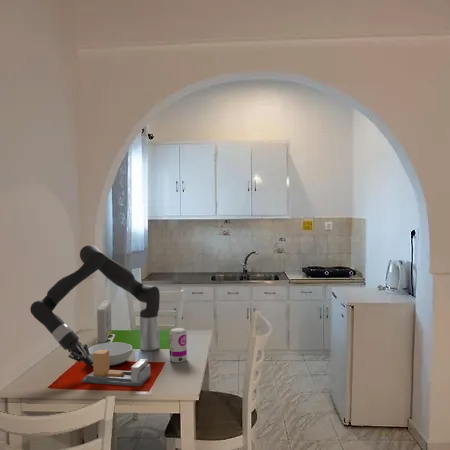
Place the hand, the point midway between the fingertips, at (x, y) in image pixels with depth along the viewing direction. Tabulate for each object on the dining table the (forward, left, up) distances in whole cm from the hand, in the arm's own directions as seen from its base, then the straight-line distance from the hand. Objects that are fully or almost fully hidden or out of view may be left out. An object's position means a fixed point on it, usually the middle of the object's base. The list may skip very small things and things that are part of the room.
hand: (91, 365), depth 195 cm
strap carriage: (-7, +5, -4) cm, 9 cm away
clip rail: (-9, +7, -5) cm, 13 cm away
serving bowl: (-11, -16, -6) cm, 21 cm away
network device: (-17, -57, -6) cm, 59 cm away
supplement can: (-41, -4, -5) cm, 42 cm away
